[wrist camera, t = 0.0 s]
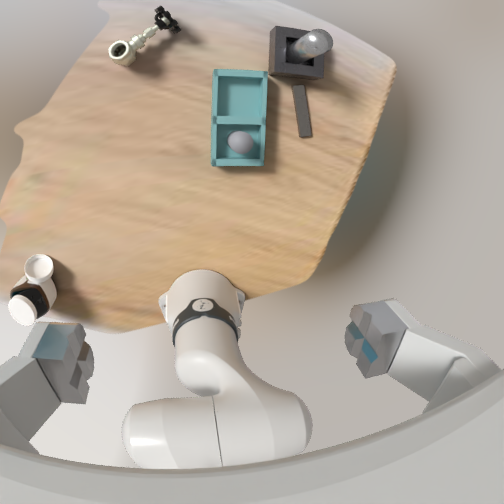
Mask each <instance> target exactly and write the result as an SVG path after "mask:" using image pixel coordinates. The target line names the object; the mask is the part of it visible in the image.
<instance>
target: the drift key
mask: <svg viewBox="0 0 504 504" xmlns="http://www.w3.org/2000/svg"><path fill="white" fill-rule="evenodd" d="M292 92H293V98H294V105H295V111H296V118H297V124H298V131H299V137H304V136H311V129H310V121H309V114H308V108H307V101H306V95H305V88H304V85H296V86H292Z"/></svg>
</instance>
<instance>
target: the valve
mask: <svg viewBox="0 0 504 504" xmlns="http://www.w3.org/2000/svg"><path fill="white" fill-rule="evenodd" d="M155 12H156V13H157V14H156V15H155V21H156V22H155V26H154V27H152V28H150V27H149V28H147V29H146V30H145V31H143V32H144V34H142V35H141V34H139V35H138V36H136V35H133V36H132V37H131V40H130V41H129V42H126V41H121V40H117V41H116V42H115V43H113V44H112V45H111V46H110V47H109V57H110V58H111V59H112V60H113V62H114V63H116V64H118V65H124V66H129V65H130V64H131V63H133V62H134V61H135V60H136V52H135V51H136V50H137V49H139V48H140V49H141V48H143V47H144V46H145V45H144V43H145V42H146V39H147V38H149V39H150V38H151V37H152V36H154V35H155V31H157V30H158V29H160V30H162V29H170V28H172V29H173V30H171V31H172V32H173V33H178V32H179V31H181V29H180V27H179V26H177V24H178V23H177V21H176V20H173V19H172V18H171V14H170V13H169V12H168V11H165V10H164V8H163V7H162V6H159V7H158V8H156V9H155ZM158 17H159V18H160V19H158ZM124 52H125V53H124ZM122 53H124V54H123V55H122ZM121 55H122V56H121Z"/></svg>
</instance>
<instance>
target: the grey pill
mask: <svg viewBox="0 0 504 504" xmlns="http://www.w3.org/2000/svg"><path fill="white" fill-rule="evenodd" d="M332 46H333V40H332V37H331V35H330V34H329V33H328V32H326V31H325V30H322V29H314V30H312V31H311V32H309V33H307V34H306V35H304V36H303V37H301V38H300V39H298V40H297V41H295V42H294V43H292V44H291V45H289V46H288V47H287V48H286V60H287V61H288V62H290V63H292V64H300V63H302V62H304V61H306V60H309V59H311V58H313V57H316V56H318V55H320V54H323V53H325V52H327V51H329V50H330V49H331V48H332Z"/></svg>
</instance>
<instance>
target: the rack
mask: <svg viewBox="0 0 504 504" xmlns="http://www.w3.org/2000/svg"><path fill="white" fill-rule="evenodd" d="M267 78H268V72H267V71H253V70H232V69H214V71H213V81H212V116H211V165H212V166H264V151H265V128H266V103H267Z"/></svg>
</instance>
